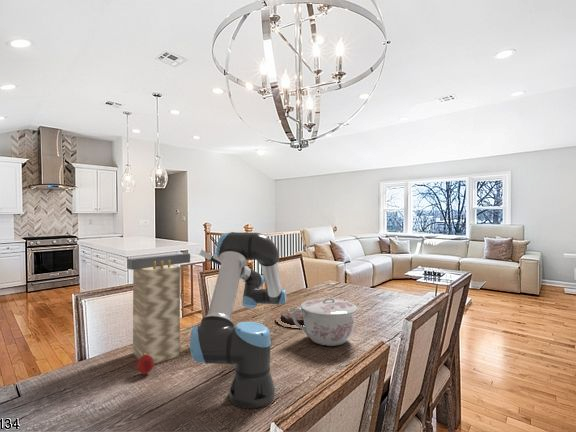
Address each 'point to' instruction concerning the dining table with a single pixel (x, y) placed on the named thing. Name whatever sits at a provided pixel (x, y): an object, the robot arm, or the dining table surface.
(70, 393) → the dining table surface
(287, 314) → the chocolate cake
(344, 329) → the chamber pot
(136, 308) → the shelf stand
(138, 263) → the bar
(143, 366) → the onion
